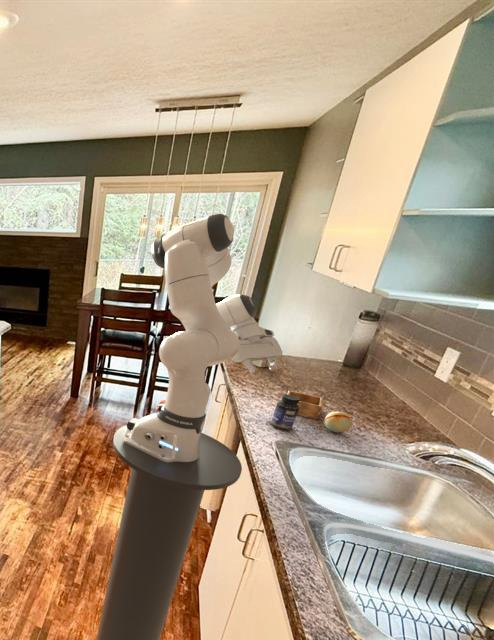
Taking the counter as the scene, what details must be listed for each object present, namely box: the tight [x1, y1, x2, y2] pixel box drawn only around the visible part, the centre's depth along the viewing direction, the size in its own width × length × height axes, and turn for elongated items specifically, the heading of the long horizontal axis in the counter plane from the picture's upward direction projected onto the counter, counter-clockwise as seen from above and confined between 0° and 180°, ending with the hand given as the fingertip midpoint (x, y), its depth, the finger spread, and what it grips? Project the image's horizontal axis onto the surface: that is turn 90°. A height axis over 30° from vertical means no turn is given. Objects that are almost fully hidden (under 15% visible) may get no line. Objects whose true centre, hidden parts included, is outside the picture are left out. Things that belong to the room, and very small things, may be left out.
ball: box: [323, 411, 353, 433], centre depth 131 cm, size 7×7×7 cm
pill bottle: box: [269, 393, 300, 431], centre depth 132 cm, size 6×6×11 cm
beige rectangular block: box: [252, 360, 270, 368], centre depth 191 cm, size 5×4×10 cm
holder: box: [286, 389, 324, 421], centre depth 146 cm, size 11×11×5 cm
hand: (263, 370), depth 138 cm, fingers open, 8 cm apart
